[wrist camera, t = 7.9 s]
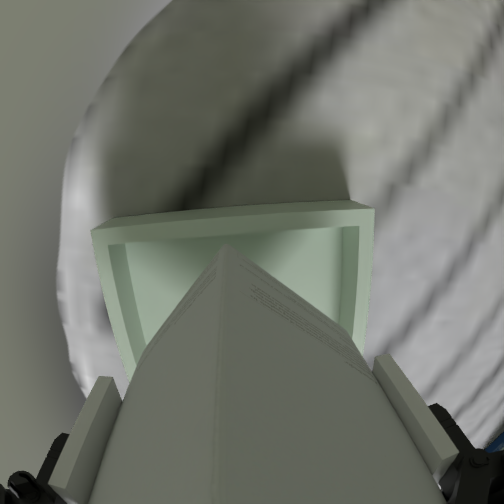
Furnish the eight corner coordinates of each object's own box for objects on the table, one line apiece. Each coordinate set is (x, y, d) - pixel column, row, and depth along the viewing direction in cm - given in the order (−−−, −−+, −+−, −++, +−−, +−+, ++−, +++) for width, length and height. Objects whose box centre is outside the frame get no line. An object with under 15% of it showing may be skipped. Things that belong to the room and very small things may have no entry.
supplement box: (136, 355, 17) (52, 593, 2) (225, 237, 15) (203, 639, 1) (255, 421, 19) (277, 629, 4) (351, 331, 17) (483, 560, 3)
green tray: (350, 200, 21) (374, 208, 18) (333, 421, 28) (344, 449, 24) (113, 218, 21) (90, 230, 17) (168, 434, 27) (163, 463, 23)
